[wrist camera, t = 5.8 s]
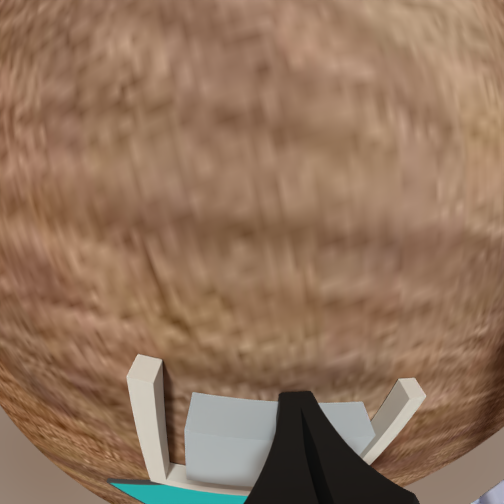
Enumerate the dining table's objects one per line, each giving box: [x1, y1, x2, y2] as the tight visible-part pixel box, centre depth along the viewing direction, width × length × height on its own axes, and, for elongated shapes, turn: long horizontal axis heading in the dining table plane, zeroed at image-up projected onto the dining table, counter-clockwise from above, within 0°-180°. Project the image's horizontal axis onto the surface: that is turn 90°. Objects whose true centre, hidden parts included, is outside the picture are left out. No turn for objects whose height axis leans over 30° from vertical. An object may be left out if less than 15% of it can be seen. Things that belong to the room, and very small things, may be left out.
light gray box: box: [185, 392, 375, 487], centre depth 12 cm, size 9×6×3 cm, turn 81°
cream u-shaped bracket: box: [127, 354, 426, 496], centre depth 13 cm, size 14×12×2 cm
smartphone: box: [107, 478, 248, 504], centre depth 17 cm, size 7×1×15 cm
